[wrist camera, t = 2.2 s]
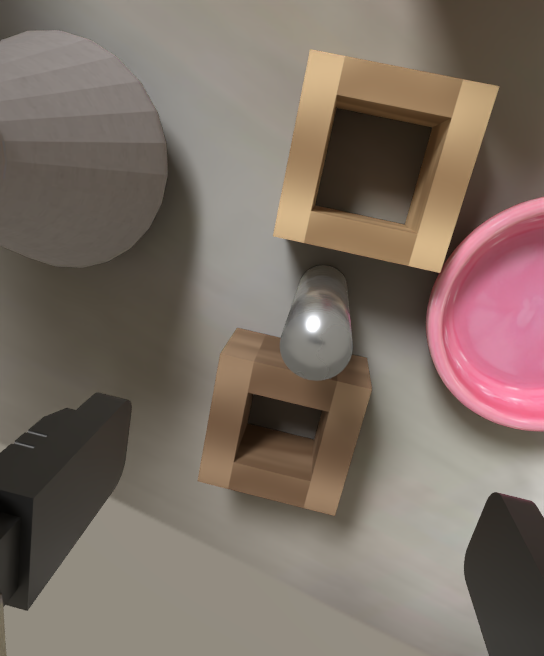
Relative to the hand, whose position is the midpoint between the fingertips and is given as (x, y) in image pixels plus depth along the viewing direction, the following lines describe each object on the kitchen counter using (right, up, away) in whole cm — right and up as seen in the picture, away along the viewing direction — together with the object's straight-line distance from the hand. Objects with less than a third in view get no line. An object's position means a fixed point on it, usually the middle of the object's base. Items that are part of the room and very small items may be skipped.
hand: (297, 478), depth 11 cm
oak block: (+5, +12, +15) cm, 20 cm away
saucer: (+14, +5, +17) cm, 22 cm away
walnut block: (0, -1, +20) cm, 20 cm away
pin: (+2, +6, +18) cm, 19 cm away
